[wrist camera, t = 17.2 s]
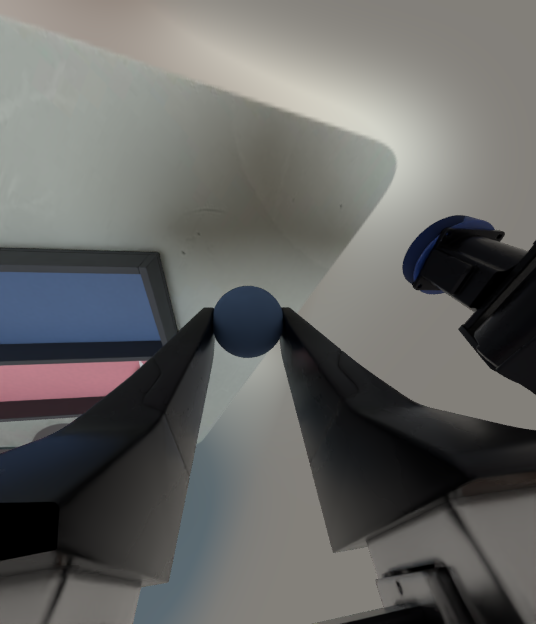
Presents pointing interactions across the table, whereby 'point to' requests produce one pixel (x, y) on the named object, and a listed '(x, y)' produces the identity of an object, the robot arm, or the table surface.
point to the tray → (76, 327)
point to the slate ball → (247, 321)
